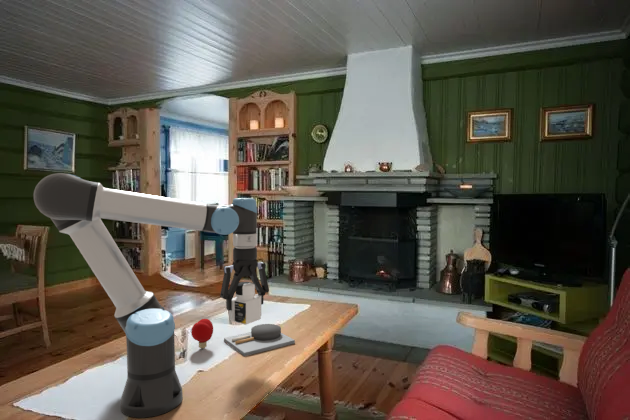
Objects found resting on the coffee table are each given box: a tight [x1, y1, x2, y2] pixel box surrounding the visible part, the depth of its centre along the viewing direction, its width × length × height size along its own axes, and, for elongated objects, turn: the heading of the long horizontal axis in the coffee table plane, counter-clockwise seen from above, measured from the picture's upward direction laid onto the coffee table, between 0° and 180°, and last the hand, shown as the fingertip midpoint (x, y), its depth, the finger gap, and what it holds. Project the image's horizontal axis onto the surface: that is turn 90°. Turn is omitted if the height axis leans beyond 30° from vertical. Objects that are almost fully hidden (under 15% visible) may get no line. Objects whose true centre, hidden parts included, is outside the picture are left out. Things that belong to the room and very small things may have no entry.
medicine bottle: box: [229, 281, 262, 326], centre depth 133 cm, size 7×7×12 cm
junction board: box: [223, 331, 296, 357], centre depth 152 cm, size 20×17×2 cm
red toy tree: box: [190, 318, 214, 350], centre depth 146 cm, size 9×7×10 cm
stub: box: [250, 323, 282, 341], centre depth 156 cm, size 11×11×2 cm
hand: (245, 317), depth 133 cm, fingers closed on medicine bottle, 9 cm apart
